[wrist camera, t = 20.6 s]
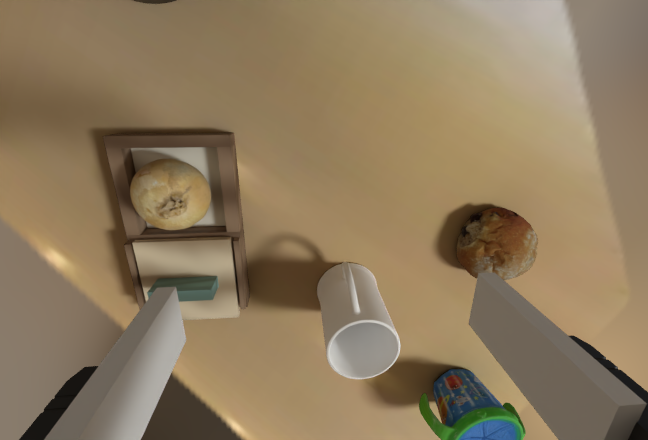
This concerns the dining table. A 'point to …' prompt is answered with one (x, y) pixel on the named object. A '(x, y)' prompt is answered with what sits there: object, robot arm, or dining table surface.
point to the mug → (356, 323)
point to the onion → (170, 194)
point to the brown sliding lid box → (217, 167)
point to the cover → (191, 274)
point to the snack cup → (469, 410)
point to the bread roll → (497, 244)
